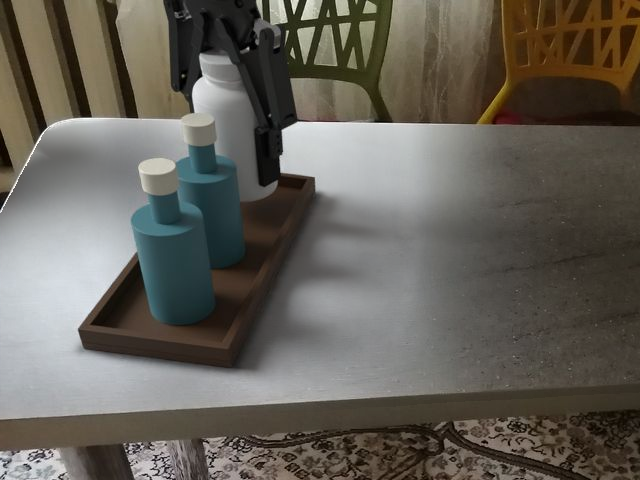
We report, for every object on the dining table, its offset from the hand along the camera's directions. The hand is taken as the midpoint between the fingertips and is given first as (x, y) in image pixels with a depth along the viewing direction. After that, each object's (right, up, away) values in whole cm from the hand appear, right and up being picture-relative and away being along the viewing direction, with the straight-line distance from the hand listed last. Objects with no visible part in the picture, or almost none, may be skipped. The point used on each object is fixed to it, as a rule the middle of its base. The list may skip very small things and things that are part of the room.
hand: (240, 169), depth 84 cm
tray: (-1, -11, -3) cm, 11 cm away
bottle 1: (-2, -16, -11) cm, 20 cm away
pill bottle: (0, -2, +2) cm, 2 cm away
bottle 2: (-1, -10, -4) cm, 11 cm away
